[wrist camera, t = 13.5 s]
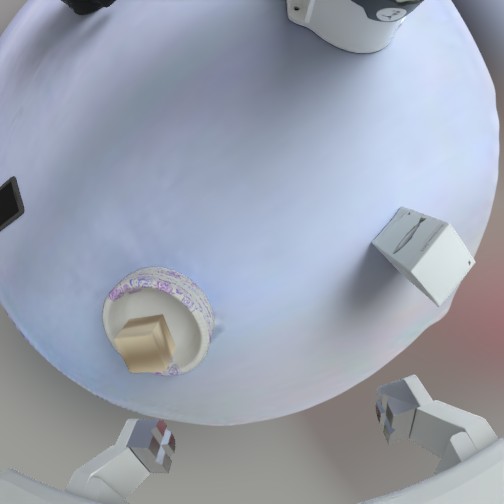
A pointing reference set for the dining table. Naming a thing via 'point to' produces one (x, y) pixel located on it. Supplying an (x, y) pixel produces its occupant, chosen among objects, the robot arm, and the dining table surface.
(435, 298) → the supplement box
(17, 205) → the cell phone
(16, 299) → the dining table surface
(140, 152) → the dining table surface
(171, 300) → the paper bowls
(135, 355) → the maple block
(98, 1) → the milk frother
